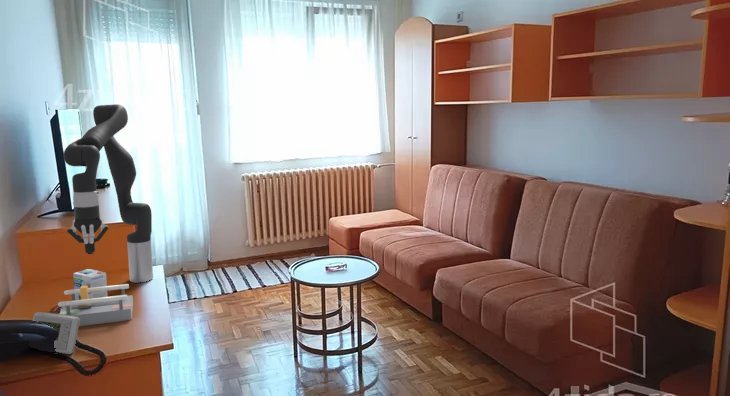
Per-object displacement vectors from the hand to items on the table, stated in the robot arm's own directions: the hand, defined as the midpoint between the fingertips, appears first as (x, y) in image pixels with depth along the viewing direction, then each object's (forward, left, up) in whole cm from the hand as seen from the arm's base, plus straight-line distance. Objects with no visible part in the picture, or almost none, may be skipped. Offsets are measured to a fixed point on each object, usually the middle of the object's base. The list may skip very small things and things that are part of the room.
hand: (90, 253), depth 178 cm
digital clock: (+24, -9, -23) cm, 34 cm away
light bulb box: (-19, -3, -23) cm, 30 cm away
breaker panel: (0, +1, -23) cm, 23 cm away
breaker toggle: (0, -3, -19) cm, 19 cm away
